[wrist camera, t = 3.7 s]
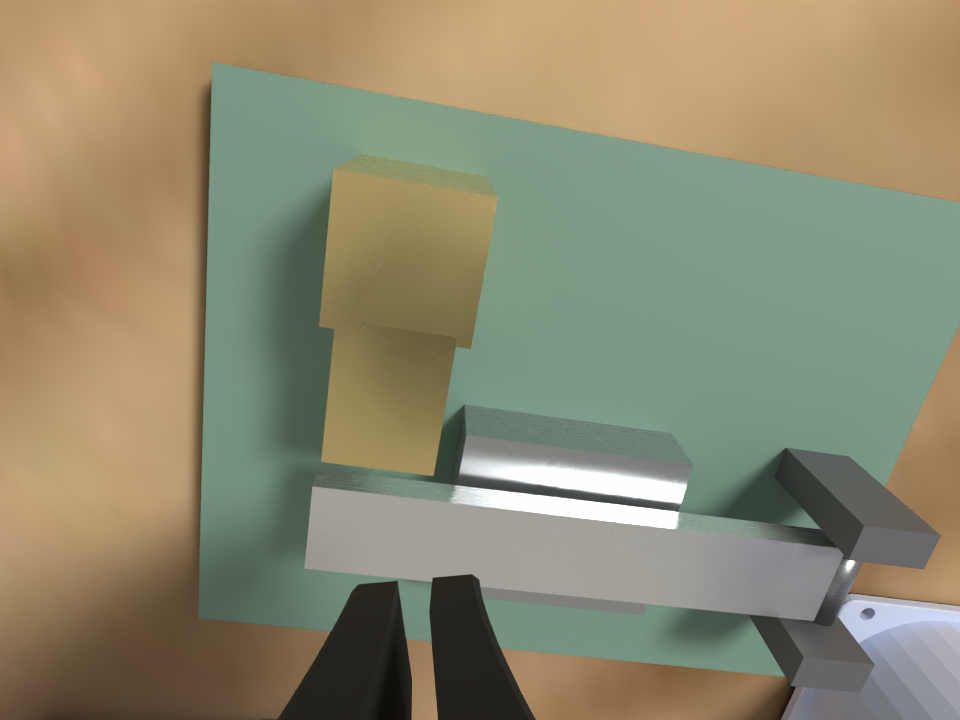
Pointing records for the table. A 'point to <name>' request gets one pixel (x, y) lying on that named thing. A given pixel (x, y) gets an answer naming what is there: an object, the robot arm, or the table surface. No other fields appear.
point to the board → (579, 351)
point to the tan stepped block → (399, 305)
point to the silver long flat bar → (573, 547)
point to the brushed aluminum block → (569, 473)
